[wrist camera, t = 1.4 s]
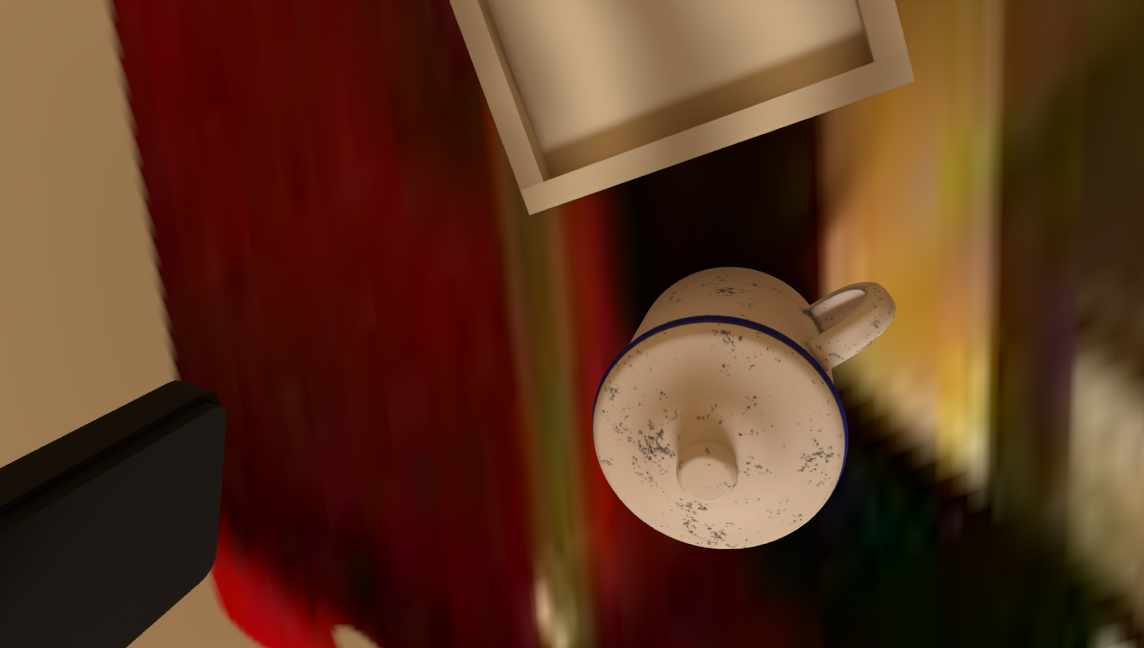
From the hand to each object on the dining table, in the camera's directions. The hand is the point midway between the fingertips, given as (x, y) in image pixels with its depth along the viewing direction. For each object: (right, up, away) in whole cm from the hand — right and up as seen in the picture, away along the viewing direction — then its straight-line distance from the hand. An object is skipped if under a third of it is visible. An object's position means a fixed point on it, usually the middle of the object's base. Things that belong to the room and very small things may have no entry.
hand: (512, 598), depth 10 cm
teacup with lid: (+9, +3, +24) cm, 26 cm away
